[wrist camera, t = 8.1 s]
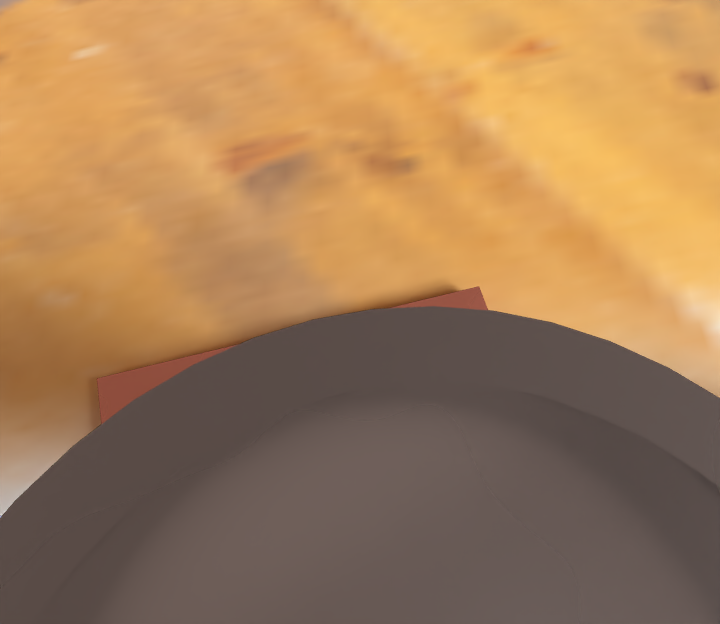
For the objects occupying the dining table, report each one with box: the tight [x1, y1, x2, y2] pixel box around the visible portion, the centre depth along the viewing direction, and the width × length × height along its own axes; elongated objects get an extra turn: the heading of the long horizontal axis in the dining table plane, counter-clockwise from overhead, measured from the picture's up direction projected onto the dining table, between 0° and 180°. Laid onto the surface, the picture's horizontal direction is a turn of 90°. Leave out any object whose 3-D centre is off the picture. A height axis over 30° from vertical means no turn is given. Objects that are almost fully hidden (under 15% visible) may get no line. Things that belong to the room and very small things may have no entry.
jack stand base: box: [97, 286, 488, 424], centre depth 17 cm, size 16×16×4 cm
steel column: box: [0, 306, 720, 624], centre depth 8 cm, size 5×5×13 cm
